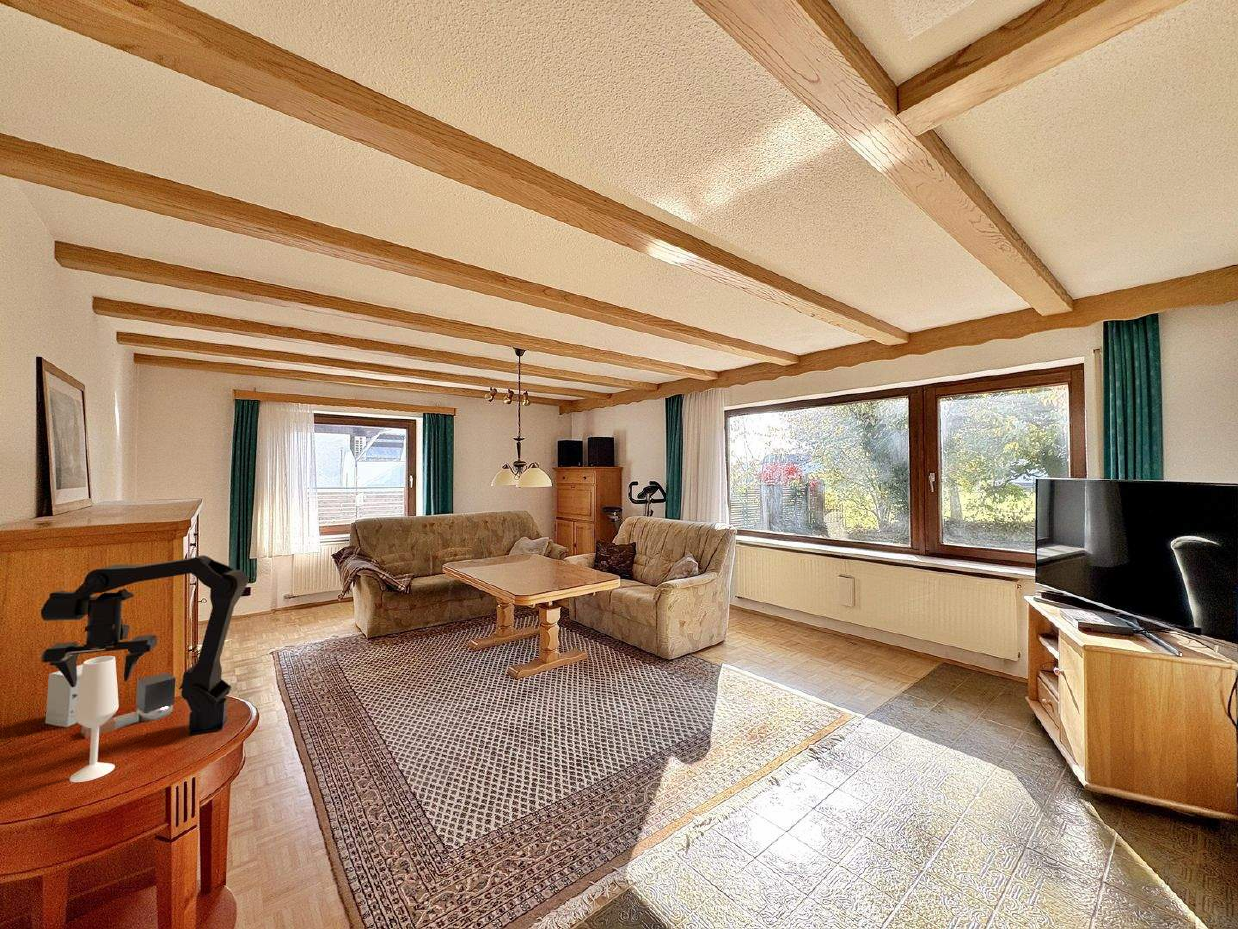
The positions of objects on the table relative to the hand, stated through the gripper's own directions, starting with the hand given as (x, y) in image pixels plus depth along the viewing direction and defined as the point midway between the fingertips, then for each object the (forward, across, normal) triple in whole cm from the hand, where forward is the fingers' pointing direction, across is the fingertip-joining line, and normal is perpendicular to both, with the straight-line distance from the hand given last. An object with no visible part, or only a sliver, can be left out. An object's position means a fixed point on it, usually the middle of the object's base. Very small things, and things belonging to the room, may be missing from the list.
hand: (100, 683), depth 119 cm
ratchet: (+13, -4, -7) cm, 15 cm away
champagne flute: (+13, -5, +17) cm, 22 cm away
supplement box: (+13, +9, -14) cm, 21 cm away
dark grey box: (+11, -8, -9) cm, 16 cm away
